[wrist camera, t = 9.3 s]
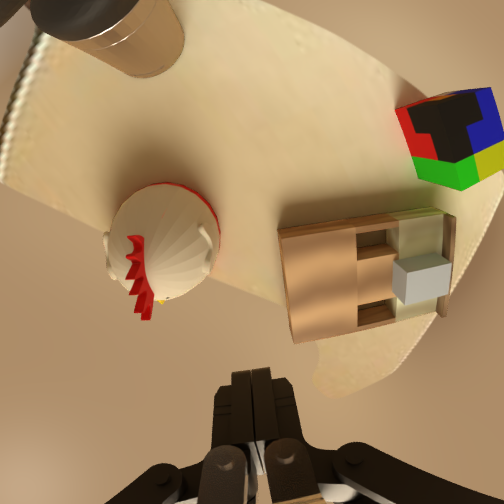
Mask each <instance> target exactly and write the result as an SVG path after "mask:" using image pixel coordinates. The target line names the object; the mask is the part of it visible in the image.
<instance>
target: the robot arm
mask: <svg viewBox="0 0 504 504" xmlns="http://www.w3.org/2000/svg"><path fill="white" fill-rule="evenodd" d="M26 2H27V0H0V27H2V26H3V25H4V24H5V23H6V22H7V21H8V20H9V19H10V18H11V17H12V16H13V15H14V14H15V13H16V12H17V11H18V10H19V9H20V8H21V7H22V6H23V5H24V4H25V3H26ZM30 10H31V15H32V19H33V21H34V22H35V24H36V25H37V26H38V28H39V29H41V30H42V31H44V32H45V33H47V34H49V35H51V36H53V37H55V38H57V39H59V40H61V41H64V42H66V43H68V44H70V45H72V46H74V47H76V48H78V49H80V50H82V51H84V52H86V53H88V54H90V55H92V56H94V57H96V58H98V59H100V60H102V61H103V62H105V63H107V64H109V65H111V66H113V67H115V68H116V69H118V70H120V71H122V72H124V73H126V74H128V75H130V76H132V77H137V78H147V77H153V76H155V75H158V74H160V73H162V72H164V71H166V70H167V69H168V68H170V67H171V66H172V65H173V64H174V63H175V62H176V60H177V59H178V58H179V56H180V54H181V53H182V50H183V47H184V32H183V30H182V28H181V26H180V24H179V22H178V20H177V18H176V16H175V14H174V12H173V10H172V8H171V6H170V4H169V2H168V0H31V3H30ZM251 372H252V374H251ZM231 377H232V378H231V380H232V381H231V385H228V386H220V388H219V389H218V391H217V393H216V394H215V396H214V411H213V416H214V417H213V427H212V444H211V450H210V451H209V452H208V454H207V455H206V456H205V458H204V460H203V461H201V462H199V463H197V464H195V465H192V466H188V467H185V468H181V469H178V468H177V467H176V466H174V465H171V464H167V463H161V464H157V465H154V466H152V467H150V468H149V469H148V470H147V471H146V472H144V473H143V474H142V475H140V476H139V477H138V478H137V479H136V480H134V481H133V482H132V483H131V484H129V485H128V486H127V487H126V488H124V489H123V490H122V491H121V492H120V493H118V494H117V495H115V496H114V497H113V498H112V499H110V500H109V501H108V502H106V503H105V504H258V481H257V475H263V474H264V472H263V467H264V471H265V474H267V478H268V484H269V489H270V494H271V499H272V504H326V501H330V502H333V503H334V504H504V500H501V499H498V498H494V497H491V496H488V495H485V494H482V493H479V492H477V491H473V490H471V489H468V488H465V487H462V486H460V485H457V484H455V483H452V482H450V481H447V480H445V479H442V478H439V477H437V476H435V475H432V474H430V473H428V472H425V471H423V470H421V469H418V468H416V467H414V466H412V465H409V464H407V463H405V462H403V461H401V460H399V459H396V458H394V457H392V456H390V455H388V454H386V453H384V452H382V451H380V450H378V449H375V448H374V447H372V446H370V445H368V444H366V443H362V442H351V443H347V444H345V445H343V446H341V447H340V448H339V449H338V450H323V449H317V448H315V447H312V446H311V445H309V444H308V443H307V442H306V441H305V439H304V437H303V434H302V429H301V425H300V420H299V415H298V410H297V406H296V401H295V397H294V391H293V387H292V385H291V384H290V382H289V381H288V380H287V379H286V378H278V379H272V377H271V371H270V367H266V368H259V369H252V370H251V371H250V370H246V371H238V372H232V375H231Z"/></svg>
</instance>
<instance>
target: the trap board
mask: <svg viewBox="0 0 504 504" xmlns="http://www.w3.org/2000/svg"><path fill="white" fill-rule="evenodd" d="M383 229H386V243H385V244H379V245H373V246H367V247H361V248H356V234H357V233H364V232H370V231H376V230H383ZM277 232H278V239H279V247H280V254H281V262H282V270H283V277H284V285H285V293H286V302H287V310H288V318H289V327H290V331H291V335H292V339H293V343H294V344H299V343H304V342H309V341H315V340H320V339H325V338H330V337H335V336H340V335H344V334H349V333H353V332H358V331H362V330H367V329H371V328H375V327H379V326H383V325H387V324H391V323H395V322H399V321H403V320H407V319H410V318H414V317H418V316H421V315H425V314H428V313H432V312H435V311H436V312H437V313H438V314H439V315H440V316H441V317H442V318H443V317H446V315H447V309H448V301H449V295H450V288H451V280H452V271H453V261H454V250H455V234H456V217H455V216H453V215H450V214H448V213H446V212H443V211H441V210H439V209H436V208H434V207H427V208H420V209H412V210H405V211H398V212H391V213H384V214H377V215H370V216H363V217H356V218H349V219H343V220H336V221H329V222H323V223H316V224H309V225H303V226H296V227H290V228H284V229H277ZM435 252H436V253H438V254H439V255H441V256H442V257H444V258H445V259H447V260H448V261H450V262H451V263H452V266H451V276H450V284H449V292H448V294H447V295H443V296H440V297H436V298H433V299H429V300H425V301H421V302H417V303H413V304H409V305H404V304H403V303H402V302H401V301H400V300H399V299H398V298H397V296H396V295H395V294H394V293H393V292H392V279H393V261H394V260H399V259H404V258H410V257H415V256H420V255H425V254H430V253H435ZM384 299H385V305H381V306H376V307H372V308H368V309H363V310H358V305H362V304H366V303H371V302H376V301H380V300H384Z"/></svg>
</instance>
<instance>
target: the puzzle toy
mask: <svg viewBox="0 0 504 504" xmlns="http://www.w3.org/2000/svg"><path fill="white" fill-rule="evenodd" d="M395 112H396V115H397V117H398V120H399V122H400V125H401V128H402V130H403V133H404V136H405V139H406V142H407V144H408V147H409V150H410V153H411V156H412V159H413V162H414V166H415V169H416V172H417V175H418V179H422V180H425V181H429V182H432V183H436V184H439V185H443V186H446V187H449V188H452V189H456V190H459V191H463V190H465V189H467V188H469V187H471V186H472V185H474V184H476V183H478V182H480V181H482V180H484V179H485V178H487V177H489V176H491V175H493V174H495V173H496V172H498V171H500V170H502V169H504V131H503V127H502V123H501V120H500V116H499V112H498V109H497V105H496V102H495V99H494V96H493V93H492V90H491V87H487V88H477V89H468V90H460V91H452V92H445V93H442V94H439V95H436V96H433V97H430V98H427V99H424V100H421V101H418V102H415V103H412V104H410V105H407V106H404V107H401V108H398V109H396V110H395Z"/></svg>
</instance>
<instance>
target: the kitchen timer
mask: <svg viewBox="0 0 504 504" xmlns="http://www.w3.org/2000/svg"><path fill="white" fill-rule="evenodd" d="M103 244H104V248H105V253H106V266H107V271H108V274H109V276H110V277H111V278H112V279H113V280H116V279H118V280H119V282H120V283H121V284H122V285H123V286H124V287H125V288H126V289H127V290H128V291H129V292H130V293H129V295H137V296H138V298H137V302H136V305H135V309H134V313H141V320H150V319H151V314H152V308H153V301H154V300H157V301H158V302H160V303H161V304H163V303H164V301H165V300H169V299H172V298H175V297H178V296H181V295H183V294H185V293H186V292H188V291H189V290H191V289H192V288H193V287H195V286H196V285H198V284H199V283H200V282H202V281H203V279H204V278H205V277H206V276H207V274H208V275H209V274H210V273H211V271H212V269H213V266H214V263H215V261H216V258H217V255H218V253H219V248H220V228H219V224H218V220H217V216H216V215H215V213H214V211H213V210H212V208H211V206H210V204H209V203H208V202H207V201H206V200H205V199H204V198H203V197H202V196H201V195H200V194H199V193H198V192H196V191H194V190H192V189H190V188H188V187H186V186H184V185H180V184H175V183H169V182H166V183H157V184H152V185H149V186H147V187H145V188H143V189H140V190H138V191H136V192H135V193H134V194H133V195H131V196H130V197H129V198H128V199H127V200H126V201H125V202H124V203H123V204H122V205H121V207H120V208H119V210H118V212H117V214H116V215H115V217H114V219H113V222H112V225H111V230H110V232H105V233H104V235H103Z"/></svg>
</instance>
